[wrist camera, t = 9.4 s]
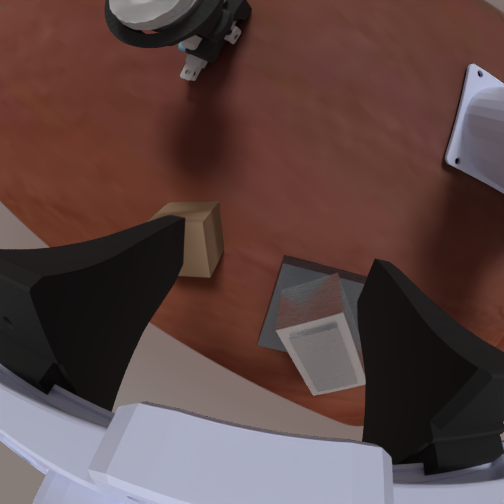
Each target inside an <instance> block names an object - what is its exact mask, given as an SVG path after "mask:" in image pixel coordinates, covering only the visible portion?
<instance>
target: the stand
mask: <svg viewBox="0 0 504 504" xmlns="http://www.w3.org/2000/svg"><path fill="white" fill-rule="evenodd" d="M335 273H338V274H339V277H340V280H341V283H342V285H343V288H344V291H345V294H346V297H347V300H348V303H349V306H350V309H351V312H352V315H353V318H354V321H355V324H356V327H357V330H358V333H359V329H358V320H357V300H358V298H359V296H360V294H361V291H362V289H363V287H364V284H365V282H366V279H367V277H366V276H362V275H358V274H355V273H351V272H347V271H343V270H339V269H336V268H332V267H328V266H324V265H320V264H317V263H313V262H309V261H305V260H301V259H297V258H294V257H290V256H286V255H284V258H283V261H282V264H281V268H280V271H279V274H278V278H277V281H276V284H275V287H274V291H273V294H272V297H271V300H270V303H269V307H268V310H267V313H266V316H265V319H264V322H263V326H262V329H261V332H260V335H259V339H258V344H257V345H258V346H262V347H266V348H271V349H275V350H279V351H283V352H288V351H287V350H286V348H285V346H284V344H283V343H282V341H281V339H280V337H279V336H278V334H277V332H276V325H277V318H278V311H279V304H280V297H281V290H283V289H287V288H290V287H293V286H297V285H300V284H303V283H306V282H310V281H313V280H316V279H319V278H323V277H326V276H329V275H332V274H335Z"/></svg>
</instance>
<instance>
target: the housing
mask: <svg viewBox="0 0 504 504" xmlns="http://www.w3.org/2000/svg"><path fill="white" fill-rule="evenodd" d="M276 332H277V334H278V336H279V337H280V339H281V341H282V343H283V344H284V346H285V348H286V350H287V351H288V353H289V355H290V357H291V358H292V360H293V362H294V364H295V365H296V367H297V369H298V370H299V372H300V374H301V376H302V377H303V379H304V381H305V383H306V384H307V386H308V388H309V390H310V391H311V393H312V395H313V396H314V395H320V394H325V393H330V392H334V391H339V390H343V389H348V388H352V387H356V386H360V385H364V384H366V381H365V369H364V362H363V355H362V349H361V342H360V336H359V333H358V330H357V327H356V324H355V321H354V318H353V315H352V312H351V309H350V306H349V303H348V300H347V297H346V294H345V291H344V288H343V285H342V283H341V280H340V277H339V274H338V273H335V274H332V275H329V276H326V277H323V278H319V279H316V280H313V281H310V282H306V283H303V284H300V285H297V286H293V287H290V288H287V289H283V290H281V297H280V304H279V311H278V318H277V325H276Z"/></svg>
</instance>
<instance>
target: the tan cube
mask: <svg viewBox="0 0 504 504" xmlns="http://www.w3.org/2000/svg"><path fill="white" fill-rule="evenodd" d="M167 215H174V216H179V217H184V218H186V219H185V238H184V263H183V266H182V268H181V270H180V273H179V275H178V276H189V277H206V278H211V276H212V273H213V271H214V269H215V267H216V265H217V263H218V261H219V259H220V257H221V255H222V253H223V251H224V243H223V234H222V225H221V215H220V205H219V201H199V202H169V203H168V204H167V205H165V206H164V207H163V208H162V209H161V210H160V211H159V212H157V213H156V214H155V215H154V216H153V217H152V218H151V219H149V220H148V221H147V222H149V221H151V220H154V219H157V218H160V217H163V216H167Z"/></svg>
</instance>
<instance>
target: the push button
mask: <svg viewBox="0 0 504 504" xmlns="http://www.w3.org/2000/svg"><path fill="white" fill-rule="evenodd" d="M251 10H252V9H251V7H250V5H249V4H248V2H247V0H106V1H105V18H106V22H107V25H108V27H109V29H110V31H111V32H112V33H113V35H114V36H115V37H116V38H118V39H119V40H120V41H122V42H124V43H126V44H128V45H132V46H136V47H141V48H158V47H164V46H173V45H175V44H177V43H180V44H179V46H178V49H179V50H181V51H183V52H186V53H188V56H187V58H186V60H185V62H187V63H186V65H185V66H184V68H183V70H182V72H181V74H180V77H181V78H184V79H186V80H188V81H189V80H192V81H195V80H196V78H197V76H198V75H199V73H200V71H201V69H202V68H205V66H206V64H207V62H210V63H214V62H215V61H216V59H217V57H218V55H219V52H220V51H221V49H222V47H223V46H224V44H225V42H226V41H229V42H230V43H232V44H234V43H235V42H236V41H237V39H238V37H239V36H240V34H241V30H240V29H239V28H238V27H236V24H237V23H238V21H239V20H240V19H243V20H245V19H246V18H247V17H248V15H249V14H250V12H251ZM141 30H152V31H155V32H158V33H155V34H145V33H143V32H142V31H141ZM236 35H237V36H236ZM235 36H236V38H235ZM234 38H235V39H234ZM187 69H189V70H188V72H187V73H186V74H185V71H186V70H187ZM190 72H191V73H190ZM194 72H196V74H195V75H194V76H193V74H194Z"/></svg>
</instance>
